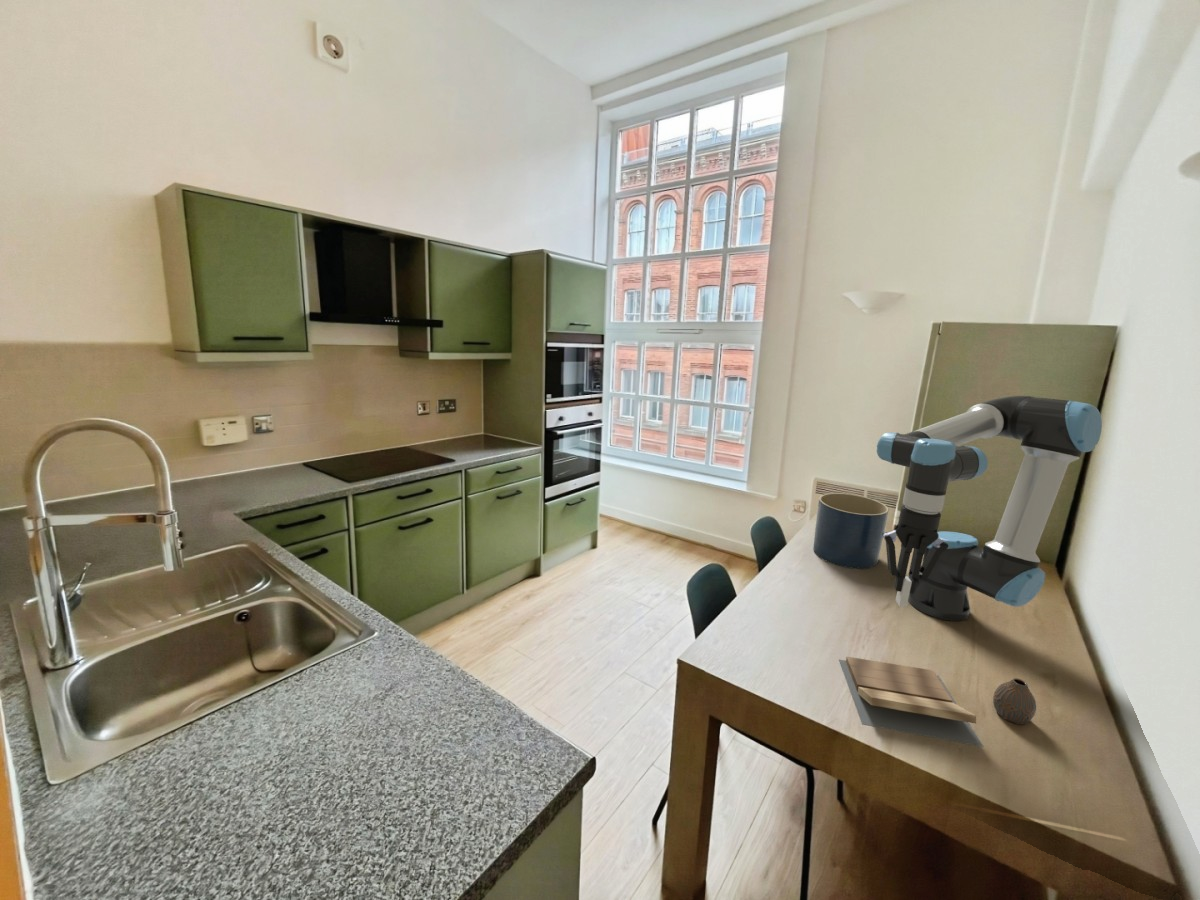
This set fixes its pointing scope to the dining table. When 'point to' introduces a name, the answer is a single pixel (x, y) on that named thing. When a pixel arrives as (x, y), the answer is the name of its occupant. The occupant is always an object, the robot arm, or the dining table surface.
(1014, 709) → the vase
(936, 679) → the laid board
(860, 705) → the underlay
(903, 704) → the plank
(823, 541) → the planter
